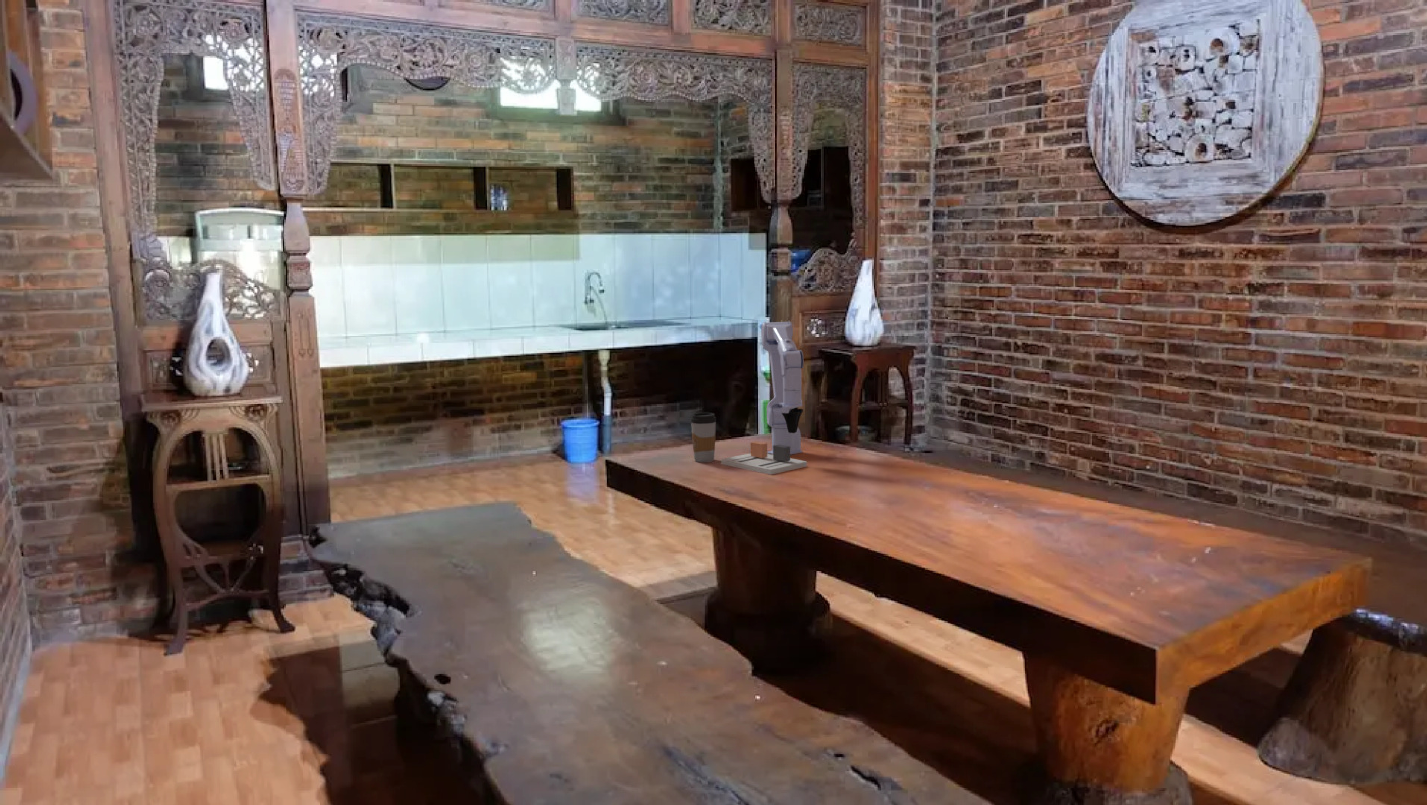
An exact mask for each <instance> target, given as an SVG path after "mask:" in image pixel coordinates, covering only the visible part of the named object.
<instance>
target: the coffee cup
mask: <svg viewBox="0 0 1427 805" xmlns="http://www.w3.org/2000/svg"><path fill="white" fill-rule="evenodd" d="M715 415H716V414H715V413H712V412H696V413H692V414H691V417H690V426H691V440H692V449H693V459H694V461H695V462H697V463H711V462H714V459H715V450H716V426H717V425H716V424H717V423H716V422H717V417H716V416H715Z"/></svg>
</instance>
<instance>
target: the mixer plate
mask: <svg viewBox="0 0 1427 805" xmlns="http://www.w3.org/2000/svg"><path fill="white" fill-rule="evenodd" d="M720 464H721V465H723V466H728V467H733V468H738V469H743V470H747V471H751V472H755V473H756V472H757V473H761V474H765V475H775V474H779V473H783V472H784V473H785V472H787V471H791V470H792V471H793V470H797V469H801V468H805V467H808V461H805V460H801V459H795V458H791V457H790V461H786V462H784V461H779V460H774V459H773V454H768V453H767V457H765V458H759V457H754V456H751V452H750V453H746V454H741V455H735V456H731V457H725V458H721V459H720Z"/></svg>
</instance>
